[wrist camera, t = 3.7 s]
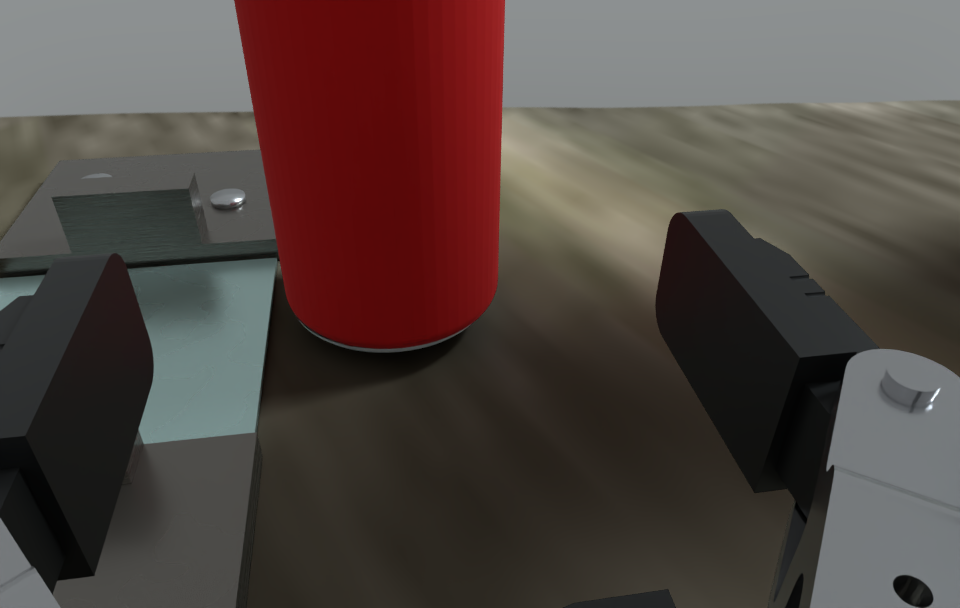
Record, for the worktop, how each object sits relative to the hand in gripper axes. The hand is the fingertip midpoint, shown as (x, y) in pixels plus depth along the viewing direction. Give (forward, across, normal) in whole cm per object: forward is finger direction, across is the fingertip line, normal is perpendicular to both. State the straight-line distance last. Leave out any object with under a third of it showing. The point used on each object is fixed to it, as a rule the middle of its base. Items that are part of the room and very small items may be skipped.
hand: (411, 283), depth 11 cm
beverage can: (+9, 0, +7) cm, 12 cm away
